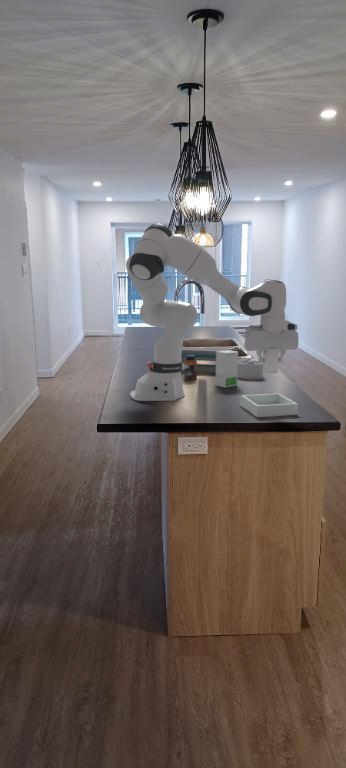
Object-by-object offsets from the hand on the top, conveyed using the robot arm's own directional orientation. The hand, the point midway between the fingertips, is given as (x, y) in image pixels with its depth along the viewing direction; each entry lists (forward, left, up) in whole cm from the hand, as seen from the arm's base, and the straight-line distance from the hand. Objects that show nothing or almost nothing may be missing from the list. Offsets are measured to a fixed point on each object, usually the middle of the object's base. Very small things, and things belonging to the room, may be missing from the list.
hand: (270, 362), depth 196 cm
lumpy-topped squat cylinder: (+15, +57, -19) cm, 62 cm away
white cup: (0, 0, -4) cm, 4 cm away
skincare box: (-2, +41, -19) cm, 45 cm away
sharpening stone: (-2, +74, -19) cm, 76 cm away
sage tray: (0, 0, -18) cm, 18 cm away
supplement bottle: (-14, +57, -19) cm, 62 cm away
